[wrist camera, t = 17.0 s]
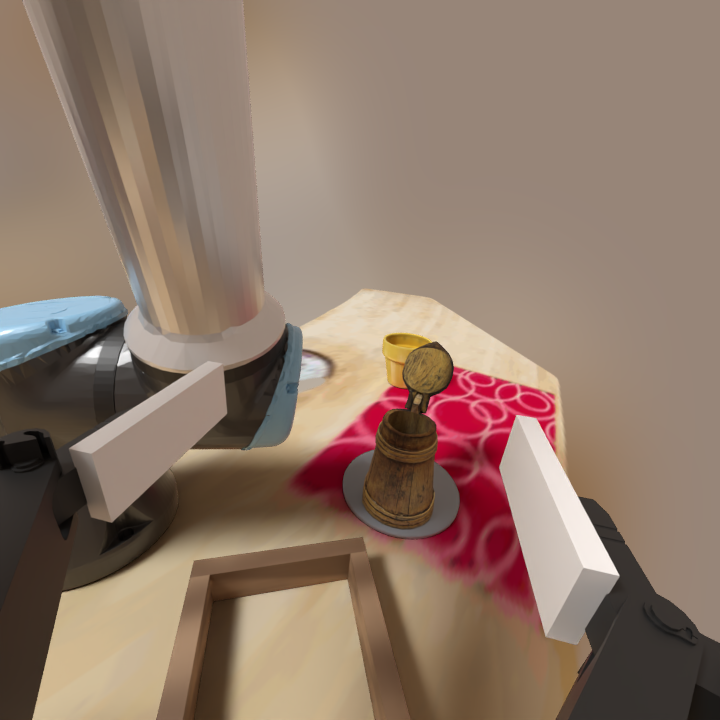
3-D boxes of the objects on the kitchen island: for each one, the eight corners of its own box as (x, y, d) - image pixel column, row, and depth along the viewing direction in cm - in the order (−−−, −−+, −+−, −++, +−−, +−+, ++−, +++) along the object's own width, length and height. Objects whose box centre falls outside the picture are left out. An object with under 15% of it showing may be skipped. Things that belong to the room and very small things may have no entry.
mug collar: (198, 587, 30) (194, 560, 29) (359, 561, 34) (362, 537, 32) (83, 1134, 12) (57, 1133, 11) (452, 956, 16) (468, 938, 14)
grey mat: (334, 455, 48) (334, 451, 48) (429, 447, 52) (430, 444, 52) (356, 548, 35) (356, 544, 35) (482, 529, 39) (483, 525, 38)
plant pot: (375, 371, 77) (379, 330, 73) (418, 372, 78) (425, 332, 74) (383, 392, 67) (389, 347, 64) (432, 393, 69) (440, 349, 65)
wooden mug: (445, 466, 47) (473, 348, 40) (424, 542, 36) (458, 395, 29) (386, 446, 50) (403, 333, 43) (349, 510, 39) (363, 370, 32)
